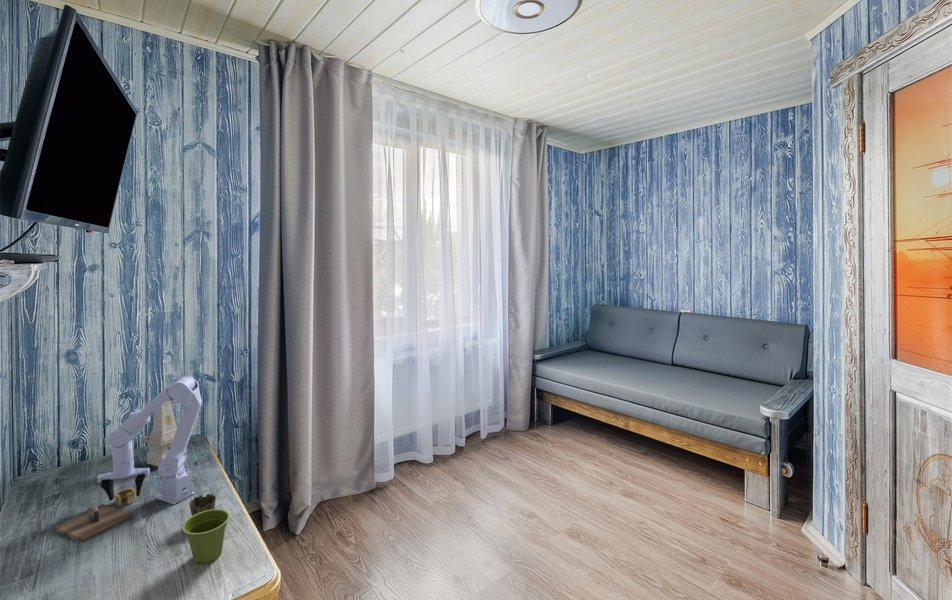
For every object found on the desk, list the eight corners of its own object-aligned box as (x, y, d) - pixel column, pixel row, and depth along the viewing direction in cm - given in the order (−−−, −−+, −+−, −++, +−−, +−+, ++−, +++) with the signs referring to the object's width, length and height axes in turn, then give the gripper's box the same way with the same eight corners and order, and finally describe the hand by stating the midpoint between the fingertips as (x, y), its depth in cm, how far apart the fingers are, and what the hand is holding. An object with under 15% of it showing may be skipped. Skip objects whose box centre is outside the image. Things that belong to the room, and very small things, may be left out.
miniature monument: (162, 468, 180) (158, 398, 177) (145, 463, 183) (141, 394, 180) (186, 458, 189) (183, 390, 186) (170, 453, 193) (167, 387, 190)
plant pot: (174, 563, 127) (172, 527, 125) (212, 539, 138) (210, 505, 136) (203, 575, 122) (201, 537, 121) (239, 549, 133) (238, 514, 132)
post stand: (133, 517, 147) (132, 501, 147) (83, 542, 134) (82, 525, 134) (102, 506, 153) (101, 491, 152) (52, 529, 140) (51, 513, 139)
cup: (188, 531, 141) (187, 508, 140) (192, 518, 148) (191, 496, 147) (214, 526, 144) (214, 503, 143) (218, 513, 151) (217, 491, 150)
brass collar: (118, 499, 158) (118, 489, 157) (137, 495, 160) (137, 486, 160) (113, 507, 153) (112, 497, 152) (133, 503, 155) (132, 494, 155)
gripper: (151, 452, 161) (152, 487, 163) (101, 458, 155) (103, 495, 157) (146, 460, 155) (147, 497, 156) (93, 468, 149) (96, 505, 150)
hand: (125, 496), depth 156 cm, fingers open, 7 cm apart
